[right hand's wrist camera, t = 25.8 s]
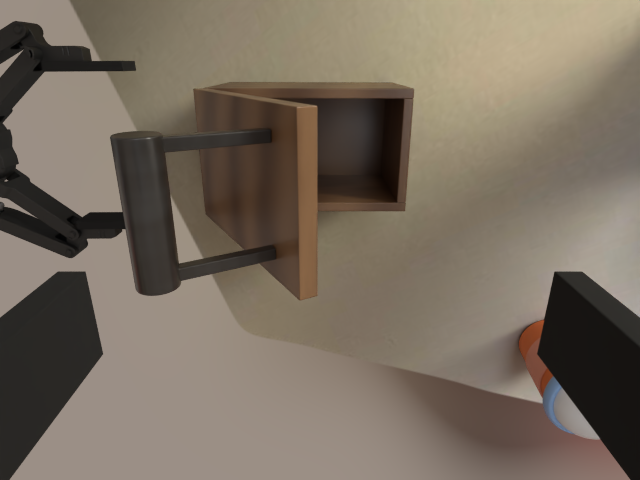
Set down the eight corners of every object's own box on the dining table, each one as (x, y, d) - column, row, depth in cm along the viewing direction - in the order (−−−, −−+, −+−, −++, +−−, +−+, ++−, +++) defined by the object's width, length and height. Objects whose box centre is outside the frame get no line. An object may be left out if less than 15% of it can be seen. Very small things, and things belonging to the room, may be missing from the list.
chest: (392, 82, 44) (414, 88, 34) (387, 180, 48) (405, 211, 38) (229, 82, 44) (202, 88, 34) (235, 179, 47) (213, 211, 38)
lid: (317, 105, 20) (115, 115, 16) (317, 295, 24) (152, 342, 20) (207, 88, 34) (81, 91, 30) (218, 212, 37) (107, 230, 33)
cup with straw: (503, 373, 56) (580, 503, 40) (509, 310, 53) (595, 424, 36) (576, 368, 56) (684, 497, 40) (586, 305, 53) (709, 417, 36)
